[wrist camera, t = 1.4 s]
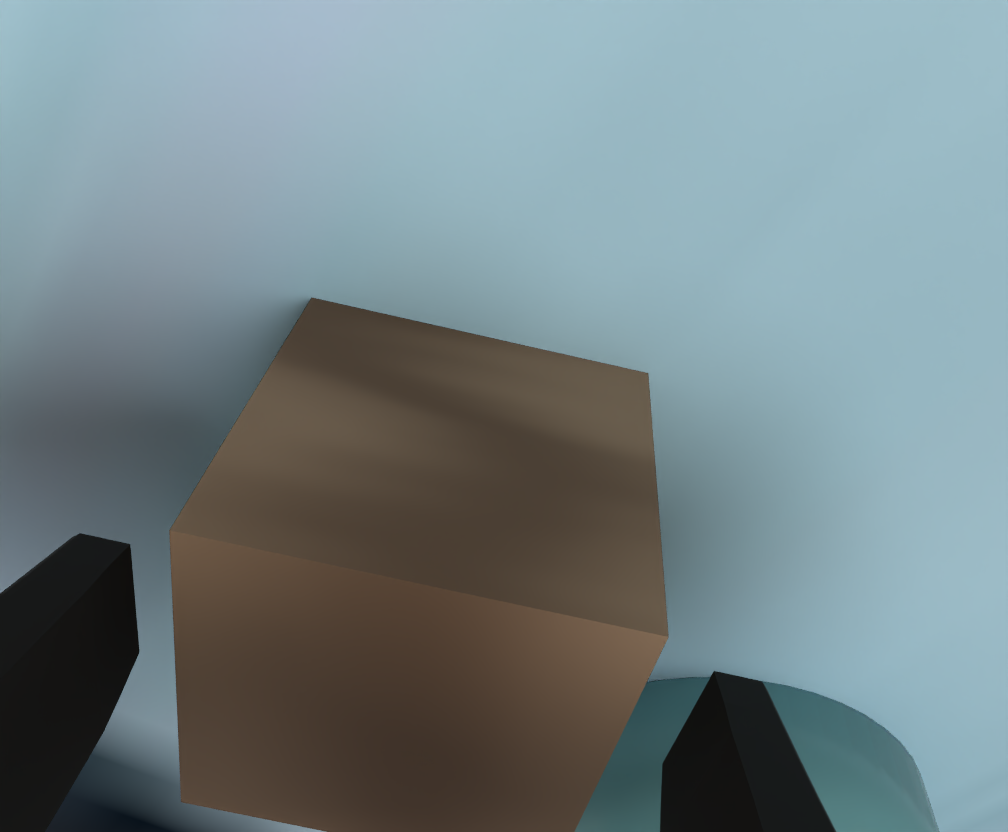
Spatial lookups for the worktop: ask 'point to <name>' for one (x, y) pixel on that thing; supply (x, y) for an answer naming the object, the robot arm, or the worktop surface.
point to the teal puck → (816, 737)
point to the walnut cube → (417, 583)
